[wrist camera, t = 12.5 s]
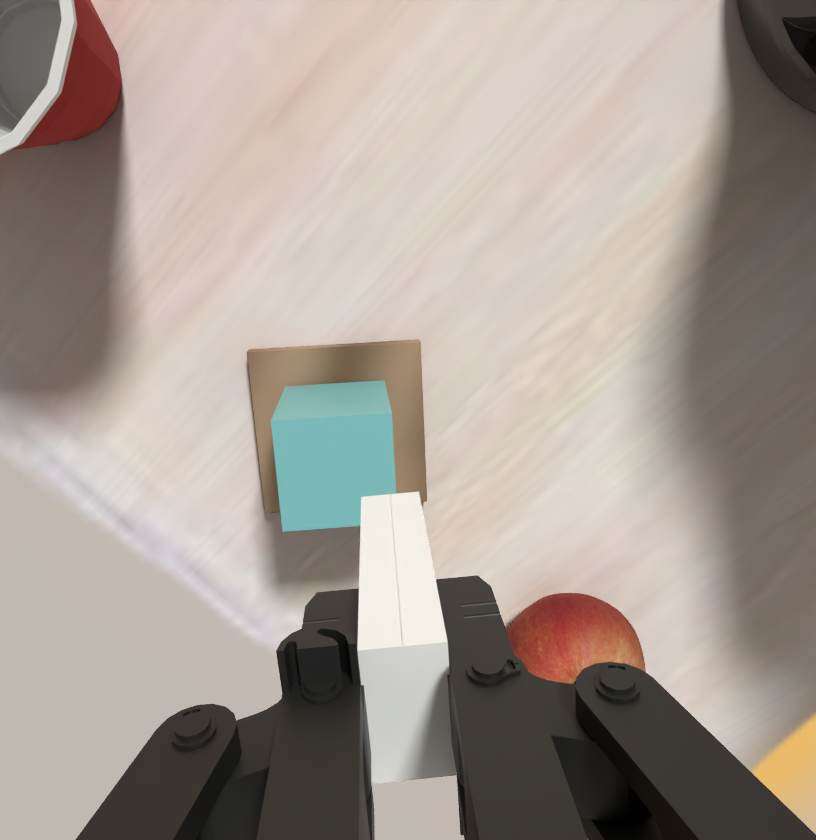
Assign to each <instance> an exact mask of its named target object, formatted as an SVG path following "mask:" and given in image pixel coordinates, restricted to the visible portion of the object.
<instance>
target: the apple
mask: <svg viewBox="0 0 816 840" xmlns="http://www.w3.org/2000/svg"><path fill="white" fill-rule="evenodd" d="M507 635H508V638H509V641H510V644H511V647H512V650H513V653H514V655H515V656H516V657H518V658H519V659H521V660H522V662H523V663H524V665H525V666H526V668H527V670H528V672H530V673H531V674H533V675H535V676H537V677H540V678H543V679H546V680H550V681H555V682H562V683H570V684H576V677H577V676H578V675H579V673H580V672H581V671H582V670H583V669H584V668H586V667H589V666H591V665H593V664H595V663H603V662H617V663H625V664H628V665H631V666H634V667H636V668H639V669H641V670H643V671H644V672H646V671H645V663H644V657H643V652H642V649H641V645H640V642H639V639H638V637H637V634H636V632H635V630H634V628H633V627H632V625H631V624H630V623H629V621H628V620H627V619H626V618H625V617H624V616H623V615H622V614H621V612H619V611H618V610H617V609H616V608H614V607H613V606H611V605H610V604H608V603H606V602H604V601H602V600H600V599H597V598H595V597H592V596H589V595H585V594H579V593H559V594H553V595H549V596H546V597H543V598H541V599H539V600H538V601H536V602H535V603H533V604H532V605H531V606H529V607H528V608H526V609H525V610H524V611H523V612H521V613H520V614H519V615H518V616H517V617H516V618H515V620H514V621H513V623H512V624H511V626H510V628H509V630H508V632H507Z"/></svg>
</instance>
